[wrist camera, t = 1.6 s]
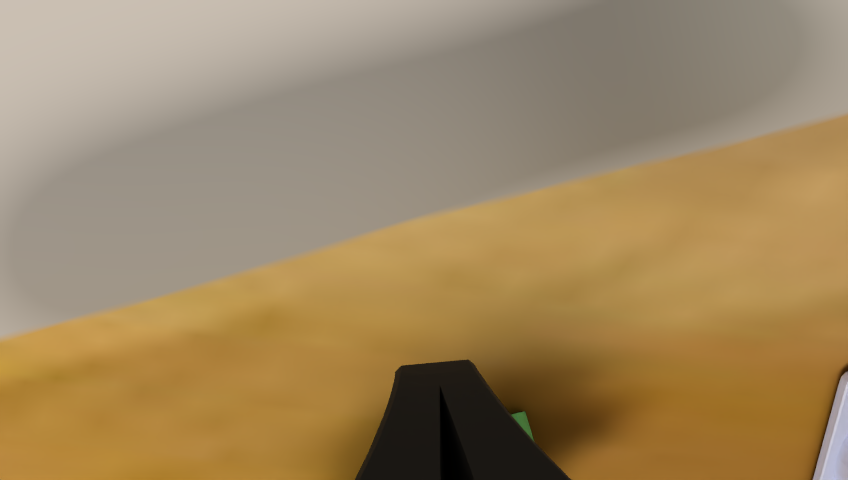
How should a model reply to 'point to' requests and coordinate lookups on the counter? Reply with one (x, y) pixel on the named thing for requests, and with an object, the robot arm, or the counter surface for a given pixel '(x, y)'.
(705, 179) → the counter surface
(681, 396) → the counter surface
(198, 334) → the counter surface
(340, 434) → the counter surface
